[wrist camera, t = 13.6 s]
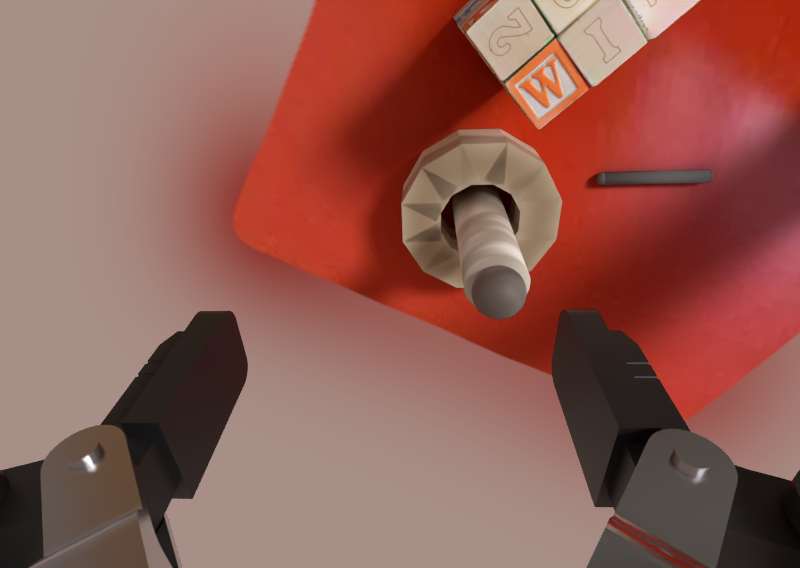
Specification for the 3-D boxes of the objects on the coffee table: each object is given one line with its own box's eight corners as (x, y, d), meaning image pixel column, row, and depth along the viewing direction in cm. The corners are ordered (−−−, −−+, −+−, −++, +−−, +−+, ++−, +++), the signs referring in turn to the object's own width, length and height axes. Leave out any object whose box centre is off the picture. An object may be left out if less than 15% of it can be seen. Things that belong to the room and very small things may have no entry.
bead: (557, 127, 36) (571, 141, 32) (538, 263, 42) (548, 287, 39) (401, 131, 37) (399, 145, 33) (405, 264, 43) (404, 288, 40)
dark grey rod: (711, 167, 37) (718, 171, 36) (707, 180, 38) (714, 184, 37) (595, 170, 38) (599, 174, 37) (593, 182, 38) (597, 186, 37)
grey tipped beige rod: (501, 178, 38) (542, 277, 25) (498, 223, 40) (534, 335, 27) (452, 179, 38) (468, 278, 25) (451, 224, 41) (465, 335, 28)
